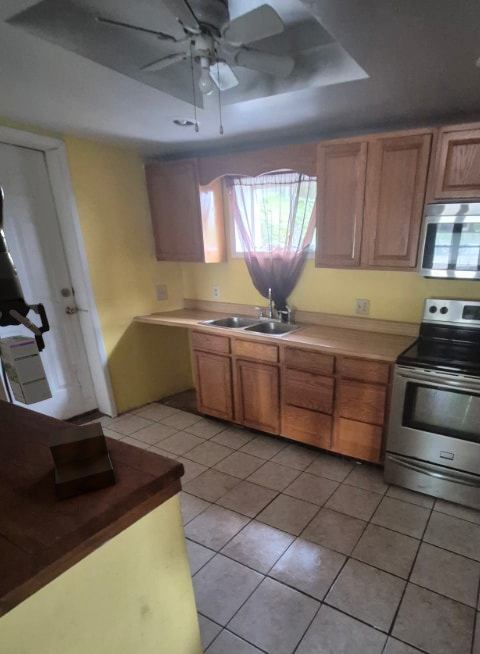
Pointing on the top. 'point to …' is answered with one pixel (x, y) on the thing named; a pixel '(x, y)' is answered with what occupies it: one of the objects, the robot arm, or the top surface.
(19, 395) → the syrup box
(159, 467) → the top surface
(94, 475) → the shelf riser
